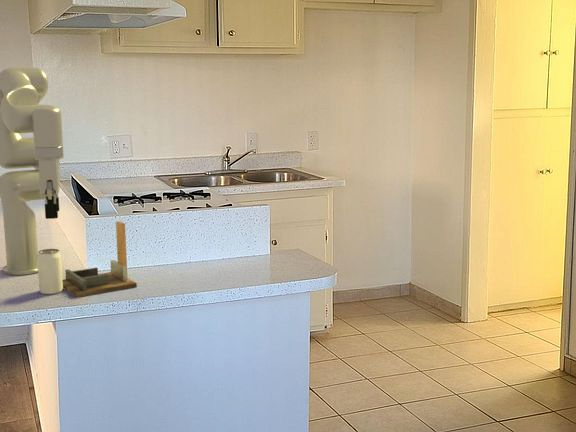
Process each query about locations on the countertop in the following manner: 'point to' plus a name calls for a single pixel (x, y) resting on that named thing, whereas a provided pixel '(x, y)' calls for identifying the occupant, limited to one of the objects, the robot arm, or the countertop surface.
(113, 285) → the rail board
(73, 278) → the can holder
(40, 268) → the can
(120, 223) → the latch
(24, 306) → the countertop surface
